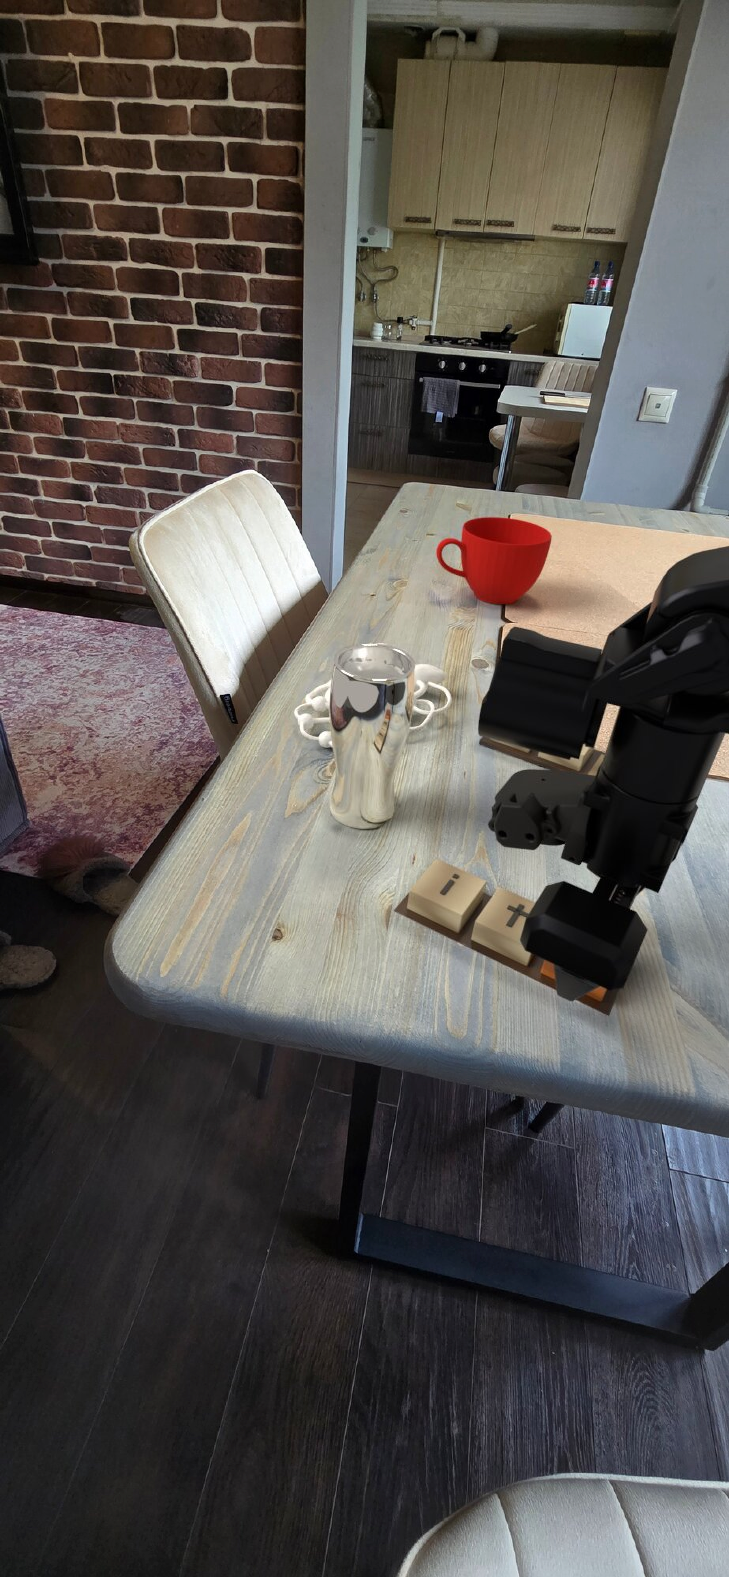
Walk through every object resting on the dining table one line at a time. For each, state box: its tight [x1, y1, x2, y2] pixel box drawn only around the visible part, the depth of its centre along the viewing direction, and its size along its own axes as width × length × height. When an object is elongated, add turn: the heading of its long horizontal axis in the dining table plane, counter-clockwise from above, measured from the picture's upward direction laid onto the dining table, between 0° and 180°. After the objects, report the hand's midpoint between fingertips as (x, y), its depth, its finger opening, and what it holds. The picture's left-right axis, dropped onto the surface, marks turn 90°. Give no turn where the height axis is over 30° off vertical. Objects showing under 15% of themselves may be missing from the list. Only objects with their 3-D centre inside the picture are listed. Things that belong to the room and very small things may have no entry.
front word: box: [393, 858, 621, 1017], centre depth 55 cm, size 17×6×3 cm, turn 58°
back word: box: [478, 736, 605, 776], centre depth 76 cm, size 17×6×3 cm, turn 58°
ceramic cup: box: [435, 516, 553, 605], centre depth 109 cm, size 13×17×10 cm
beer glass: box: [328, 642, 416, 830], centre depth 63 cm, size 7×7×15 cm
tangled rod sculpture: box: [293, 642, 453, 749], centre depth 81 cm, size 19×14×4 cm
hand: (586, 953), depth 53 cm, fingers open, 9 cm apart
